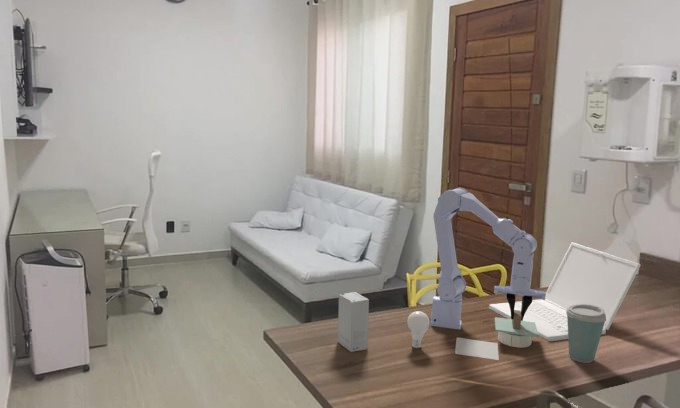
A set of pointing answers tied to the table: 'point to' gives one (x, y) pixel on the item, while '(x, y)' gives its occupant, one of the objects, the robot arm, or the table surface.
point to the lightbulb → (417, 327)
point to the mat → (477, 348)
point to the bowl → (514, 339)
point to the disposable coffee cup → (584, 331)
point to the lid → (516, 326)
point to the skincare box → (353, 321)
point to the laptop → (578, 290)
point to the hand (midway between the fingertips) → (516, 318)
